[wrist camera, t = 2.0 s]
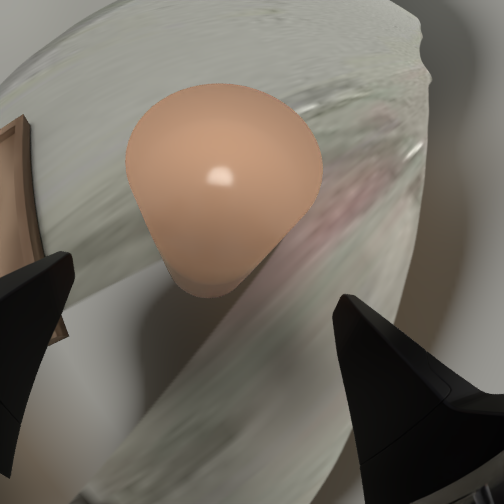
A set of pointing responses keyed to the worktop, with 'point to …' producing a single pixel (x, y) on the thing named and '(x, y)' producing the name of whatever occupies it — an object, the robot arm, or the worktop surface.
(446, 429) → the robot arm
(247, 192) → the peach tapered cylinder
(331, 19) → the worktop surface
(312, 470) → the worktop surface
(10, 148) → the walnut tray
